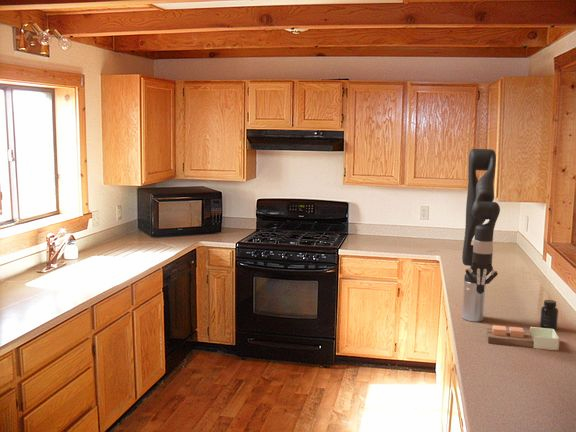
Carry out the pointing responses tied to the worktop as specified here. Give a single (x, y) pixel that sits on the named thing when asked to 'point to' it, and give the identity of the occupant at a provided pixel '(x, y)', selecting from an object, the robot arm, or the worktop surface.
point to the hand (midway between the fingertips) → (479, 293)
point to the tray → (544, 338)
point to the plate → (510, 339)
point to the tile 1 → (499, 330)
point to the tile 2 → (516, 332)
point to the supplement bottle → (549, 315)
